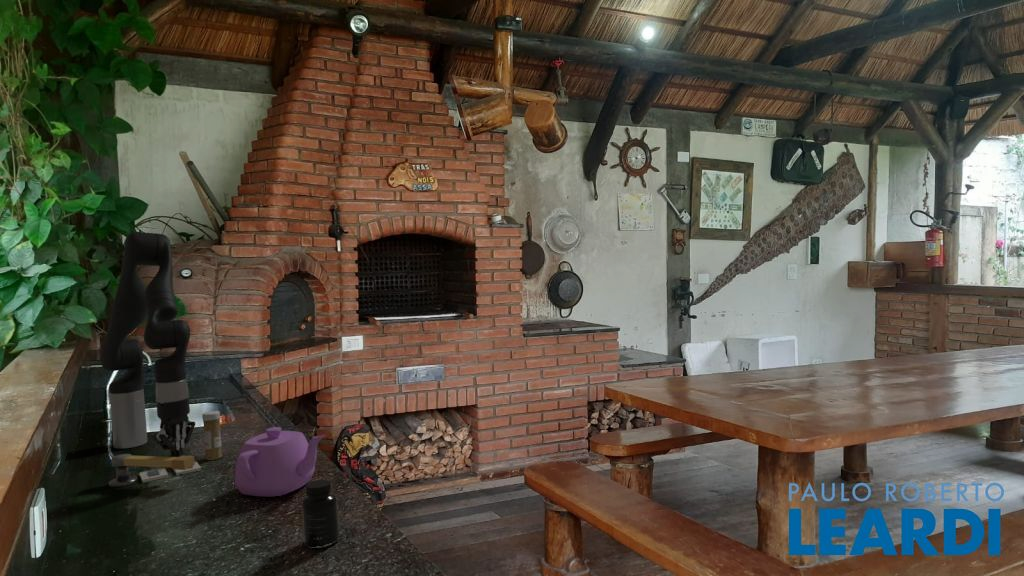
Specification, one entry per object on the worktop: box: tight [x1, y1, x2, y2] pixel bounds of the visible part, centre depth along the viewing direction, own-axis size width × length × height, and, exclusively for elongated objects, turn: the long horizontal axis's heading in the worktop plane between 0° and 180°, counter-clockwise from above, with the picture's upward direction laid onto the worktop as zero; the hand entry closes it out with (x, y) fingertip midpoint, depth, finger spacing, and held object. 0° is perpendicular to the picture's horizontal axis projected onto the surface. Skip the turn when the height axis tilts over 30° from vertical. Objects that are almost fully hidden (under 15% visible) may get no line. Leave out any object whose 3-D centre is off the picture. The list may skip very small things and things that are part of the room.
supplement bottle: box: [301, 479, 340, 547], centre depth 129 cm, size 7×7×12 cm
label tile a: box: [139, 467, 169, 484], centre depth 173 cm, size 7×6×1 cm
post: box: [108, 466, 138, 488], centre depth 169 cm, size 6×6×5 cm
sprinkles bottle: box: [201, 410, 223, 461], centre depth 187 cm, size 5×5×14 cm
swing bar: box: [111, 453, 196, 470], centre depth 167 cm, size 4×22×2 cm, turn 78°
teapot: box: [234, 426, 326, 498], centre depth 157 cm, size 23×21×15 cm
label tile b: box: [172, 460, 202, 476], centre depth 177 cm, size 7×6×1 cm
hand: (177, 462), depth 169 cm, fingers closed
